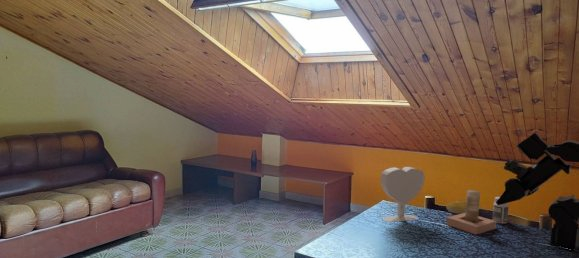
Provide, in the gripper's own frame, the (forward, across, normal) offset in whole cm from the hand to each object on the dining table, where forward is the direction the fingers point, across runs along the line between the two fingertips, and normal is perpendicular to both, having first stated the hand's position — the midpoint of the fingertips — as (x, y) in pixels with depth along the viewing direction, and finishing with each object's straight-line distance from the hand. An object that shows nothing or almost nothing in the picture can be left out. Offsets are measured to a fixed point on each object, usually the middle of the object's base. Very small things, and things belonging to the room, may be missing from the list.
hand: (501, 202), depth 134 cm
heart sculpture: (+28, +10, -14) cm, 33 cm away
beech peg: (+13, +1, 0) cm, 13 cm away
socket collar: (+13, +1, 0) cm, 13 cm away
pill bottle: (+9, -12, +4) cm, 16 cm away
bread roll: (+19, -15, -7) cm, 25 cm away
